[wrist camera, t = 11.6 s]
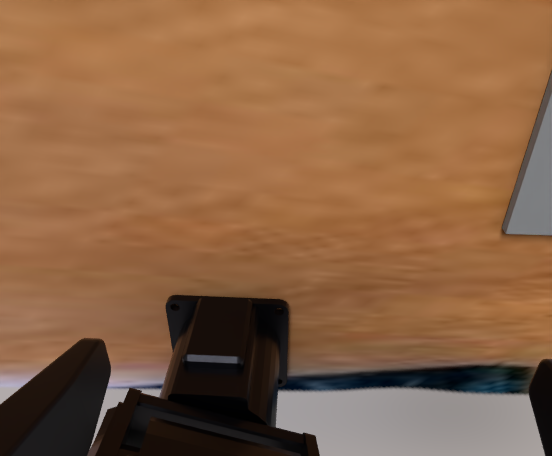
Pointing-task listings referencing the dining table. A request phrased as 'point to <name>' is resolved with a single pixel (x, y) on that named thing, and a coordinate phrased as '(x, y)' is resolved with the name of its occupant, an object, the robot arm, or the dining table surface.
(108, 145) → the dining table surface
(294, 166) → the dining table surface
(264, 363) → the robot arm
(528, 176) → the mat
